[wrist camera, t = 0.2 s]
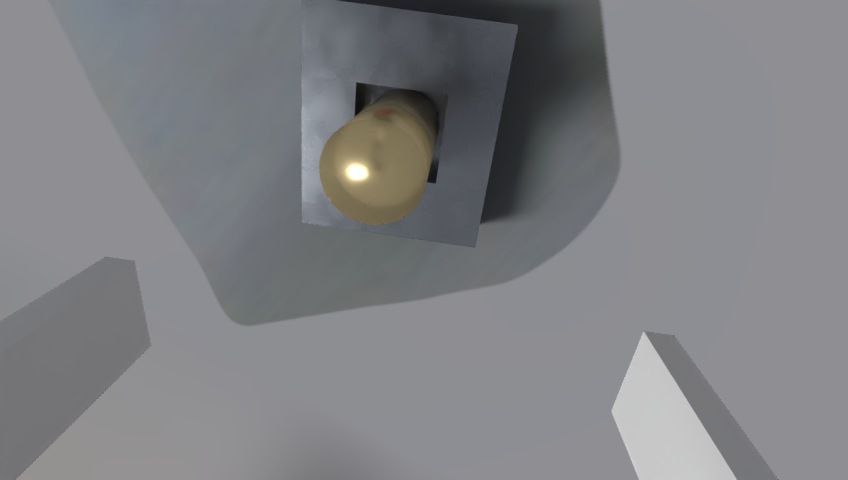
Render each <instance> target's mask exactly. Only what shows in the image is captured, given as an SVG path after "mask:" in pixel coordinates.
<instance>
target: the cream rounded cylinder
mask: <svg viewBox="0 0 848 480" xmlns="http://www.w3.org/2000/svg"><path fill="white" fill-rule="evenodd" d="M438 131H439V122H438V117H437V114H436V111H435V109H434V107H433V106H432V104H431V103H430V102H429V101H428V100H427V99H426V98H425V97H424V96H422V95H421V94H419V93H417V92H415V91H412V90H407V89H397V90H392V91H390V92H387V93H385V94H384V95H382V96H381V97H380V98H378V99H377V100H376V101H374V102H373V103H372V104H371V105H369V106H368V107H367V108H365V109H364V110H363V111H361V112H360V113H359V114H358V115H356V116H355V117H354V118H352V119H351V120H350V121H348V122H347V123H346V124H345V125H343V126H342V127H341V128H339V129H338V130H337V131H336V132H335V133H334V134H332V135H331V137H330V138H329V139H328V141H327V142H326V144H325V146H324V148H323V150H322V153H321V157H320V163H319V174H320V180H321V183H322V187H323V189H324V191H325V193H326V195H327V197H328V198H329V200H330V201H331V202H332V204H333V205H334V206H335V207H336V208H337V209H338V210H339V211H340V212H342V213H343V214H344V215H346V216H348V217H349V218H351V219H353V220H356V221H358V222H361V223H366V224H372V225H383V224H389V223H392V222H395V221H398V220H400V219H402V218H403V217H405V216H407V215H408V214H409V213H410V212H412V211H413V210H414V208H415V207H416V206H417V205H418V203H419V202H420V200H421V198H422V196H423V194H424V191H425V188H426V183H427V179H428V175H429V171H430V166H431V162H432V158H433V153H434V149H435V145H436V141H437V136H438Z"/></svg>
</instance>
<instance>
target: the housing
mask: <svg viewBox="0 0 848 480" xmlns="http://www.w3.org/2000/svg"><path fill="white" fill-rule="evenodd" d="M517 30H518V25H516V24H509V23H501V22H494V21H486V20H479V19H471V18H464V17H457V16H449V15H442V14H434V13H427V12H420V11H412V10H405V9H397V8H390V7H382V6H375V5H368V4H360V3H353V2H345V1H338V0H302V223H308V224H315V225H322V226H329V227H336V228H343V229H350V230H356V231H363V232H370V233H377V234H384V235H391V236H398V237H405V238H412V239H419V240H426V241H433V242H440V243H447V244H454V245H461V246H468V247H474V248H475V246H476V241H477V236H478V231H479V225H480V220H481V215H482V210H483V205H484V200H485V195H486V189H487V184H488V179H489V174H490V169H491V164H492V159H493V153H494V148H495V143H496V138H497V133H498V128H499V123H500V117H501V112H502V107H503V102H504V97H505V92H506V87H507V81H508V76H509V71H510V66H511V61H512V56H513V51H514V45H515V40H516V35H517ZM397 89H407V90H412V91H415V92H417V93H419V94H421V95H422V96H424V97H425V98H426V99H427V100H428V101H429V102H430V103H431V104H432V106H433V107H434V109H435V111H436V114H437V117H438V122H439V131H438V136H437V141H436V145H435V149H434V153H433V158H432V162H431V166H430V171H429V175H428V179H427V183H426V188H425V191H424V194H423V196H422V198H421V200H420V202H419V203H418V205H417V206H416V207H415V208H414V210H413V211H412V212H410V213H409V214H408V215H407V216H405V217H403V218H402V219H400V220H398V221H395V222H392V223H389V224H383V225H372V224H366V223H361V222H358V221H356V220H353V219H351V218H349V217H348V216H346V215H344V214H343V213H342V212H340V211H339V210H338V209H337V208H336V207H335V206H334V205H333V204H332V202H331V201H330V200H329V198H328V197H327V195H326V193H325V191H324V189H323V187H322V183H321V180H320V174H319V163H320V157H321V153H322V150H323V148H324V146H325V144H326V142H327V141H328V139H329V138H330V137H331V135H332V134H334V133H335V132H336V131H337V130H338V129H339V128H341V127H342V126H343V125H345V124H346V123H347V122H348V121H350V120H351V119H352V118H354V117H355V116H356V115H358V114H359V113H360V112H361V111H363V110H364V109H365V108H367V107H368V106H369V105H371V104H372V103H373V102H374V101H376V100H377V99H378V98H380V97H381V96H382V95H384V94H385V93H387V92H390V91H392V90H397Z"/></svg>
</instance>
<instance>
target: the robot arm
mask: <svg viewBox="0 0 848 480" xmlns="http://www.w3.org/2000/svg"><path fill="white" fill-rule="evenodd" d="M150 346H151V343H150V338H149V332H148V328H147V322H146V318H145V312H144V307H143V301H142V296H141V291H140V286H139V281H138V277H137V271H136V266H135V261H132V260H125V259H118V258H111V257H105V258H103V259H101V260H100V261H98V262H96V263H95V264H93V265H92V266H90V267H88V268H87V269H85V270H83V271H82V272H80V273H78V274H77V275H75V276H73V277H72V278H70V279H69V280H67V281H65V282H64V283H62V284H60V285H59V286H57V287H56V288H54V289H52V290H51V291H49V292H47V293H46V294H44V295H42V296H41V297H40V298H38V299H36V300H34V301H33V302H31V303H29V304H28V305H26V306H25V307H23V308H21V309H20V310H18V311H16V312H15V313H13V314H12V315H10V316H8V317H7V318H5V319H3V320H2V321H0V480H16V479H17V478H18V477H19V476H20V475H21V474H22V473H23V472H24V471H25V470H26V469H27V468H28V467H29V466H30V465H31V464H32V463H33V462H34V461H35V460H36V459H37V458H38V457H39V456H40V455H41V454H42V453H43V452H44V451H45V450H46V449H47V448H48V447H49V446H50V445H51V444H52V443H53V442H54V441H55V440H56V439H57V438H58V437H59V436H60V435H61V434H62V433H63V432H64V431H65V430H66V429H67V428H68V427H69V426H70V425H71V424H72V423H73V422H74V421H75V420H76V419H77V418H79V416H80V415H82V413H83V412H85V410H87V409H88V408H89V407H90V406H91V405H92V404H93V403H94V401H96V399H98V398H99V397H100V396H101V395H102V394H103V393H104V392H105V391H106V390H107V389H108V388H109V387H110V386H111V385H112V384H113V383H114V382H115V381H116V380H117V379H118V378H119V377H120V376H121V375H122V374H123V373H124V372H125V371H126V370H127V369H128V368H129V367H130V366H131V365H132V364H133V363H134V362H135V361H136V360H137V359H138V358H139V357H140V356H141V355H142V354H143V353H144V352H145V351H146V350H147V349H148V348H149V347H150ZM611 412H612V414H613V417H614V419H615V421H616V424H617V426H618V429H619V431H620V434H621V436H622V439H623V441H624V444H625V446H626V448H627V451H628V453H629V456H630V458H631V461H632V463H633V466H634V468H635V471H636V473H637V476H638V478H639V480H778V478H777V477H776V476H775V474H774V473H773V471H772V470H771V469H770V467H769V466H768V464H767V463H766V462H765V460H764V459H763V458H762V456H761V455H760V453H759V452H758V451H757V449H756V448H755V446H754V445H753V444H752V442H751V441H750V440H749V438H748V437H747V435H746V434H745V433H744V431H743V430H742V429H741V427H740V426H739V424H738V423H737V422H736V420H735V419H734V417H733V416H732V415H731V414H730V412H729V410H728V409H727V408H726V406H725V405H724V404H723V402H722V401H721V399H720V398H719V397H718V395H717V394H716V393H715V391H714V390H713V389H712V387H711V386H710V384H709V383H708V381H707V380H706V379H705V377H704V376H703V375H702V373H701V372H700V370H699V369H698V368H697V366H696V365H695V363H694V362H693V361H692V359H691V358H690V357H689V355H688V354H687V353H686V351H685V350H684V348H683V347H682V346H681V344H680V343H679V341H678V340H677V339H676V337H675V336H674V335H668V334H660V333H653V332H646V331H644V332H643V334H642V337H641V339H640V342H639V344H638V347H637V349H636V352H635V354H634V356H633V359H632V362H631V364H630V366H629V369H628V371H627V374H626V376H625V379H624V381H623V384H622V386H621V389H620V391H619V394H618V396H617V398H616V401H615V403H614V406H613V408H612V411H611Z"/></svg>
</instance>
